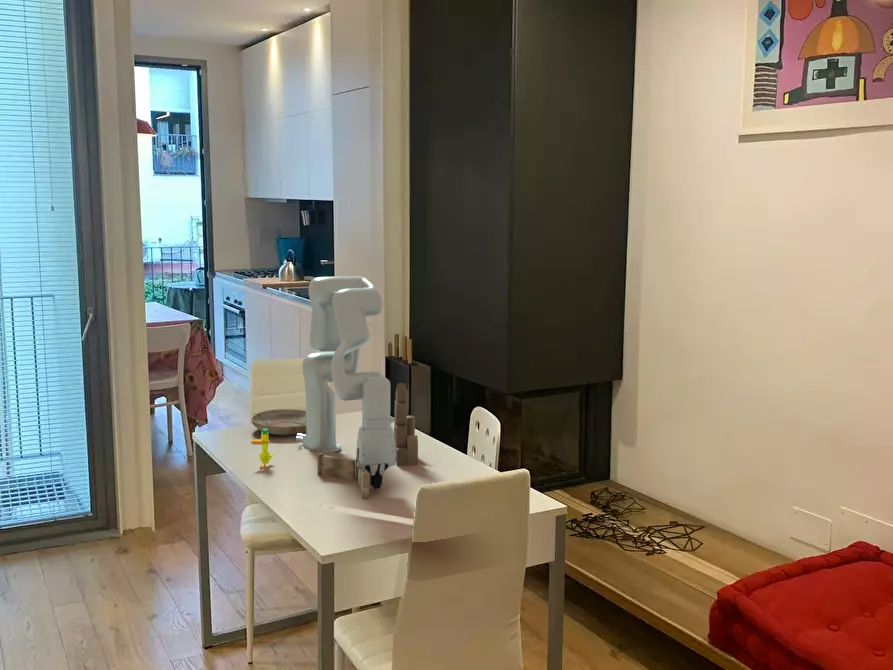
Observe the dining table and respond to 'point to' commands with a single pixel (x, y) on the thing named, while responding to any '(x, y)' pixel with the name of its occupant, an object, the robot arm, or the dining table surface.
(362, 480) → the fence gate
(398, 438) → the wooden toy
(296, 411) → the ceramic bowl
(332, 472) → the fence fixed
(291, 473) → the dining table surface
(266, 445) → the toy figure
